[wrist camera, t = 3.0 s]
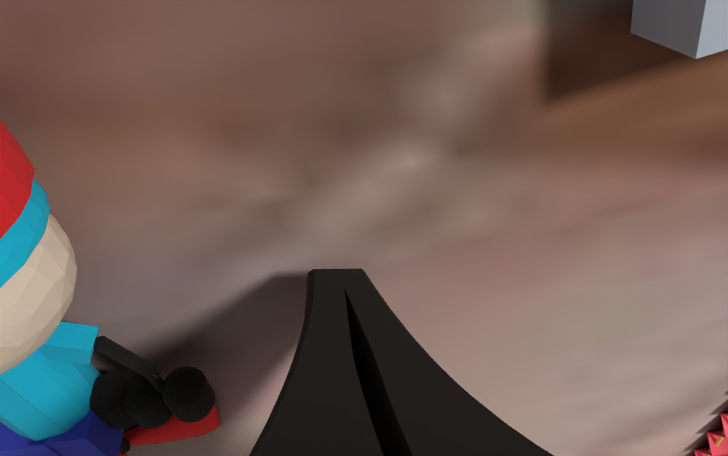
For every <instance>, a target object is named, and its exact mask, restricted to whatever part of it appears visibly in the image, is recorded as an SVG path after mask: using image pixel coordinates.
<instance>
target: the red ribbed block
mask: <svg viewBox="0 0 728 456" xmlns="http://www.w3.org/2000/svg"><path fill="white" fill-rule="evenodd" d="M720 415H721V420H722V424H723V429H724V430H718V431H711V432H707V436H708V441H709V446H710V447H707V448H701V449H695V450H694V452H695V456H728V412H727V413H721V414H720Z"/></svg>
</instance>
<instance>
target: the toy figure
mask: <svg viewBox="0 0 728 456" xmlns="http://www.w3.org/2000/svg"><path fill="white" fill-rule="evenodd" d="M33 175H34V167H33V166H32V164H31V162H30V161H29V159H28V157H27V156H26V154H25V153H24V151H23V150H22V148H21V147H20V145H19V144H18V142H17V141H16V139H15V138H14V137H13V135H12V134H11V133H10V132H9V131H8V130H7V129H6V127H5V126H4V125H3V124H2V123H1V122H0V456H126V454H125V453H126V452H128V451H129V449H130V446H132V445H146V444H157V443H163V442H169V441H175V440H181V439H186V438H192V437H197V436H201V435H204V434H206V433H208V432H210V431H213V430H214V429H216V428H217V427H219V426H220V422H219V415H218V412H217V410H216V407H215V405H214V401H215V395H214V391H213V389H212V388H211V386H210V384H209V383H208V381H207V379H206V378H205V376H204V375H203V373H202V372H201V371H200V370H198V369H196V368H194V367H189V366H187V367H180V368H178V369H175V370H174V371H173V372H171V373H170V374H169V375H168V376H167V378H166V379H165V381H164V380H163V379H162V378H161V377H160V375H161V370H160V369H159V368H158V367H157V366H155V365H153V364H151V363H150V362H148V361H146V360H144V359H143V358H141V357H139V356H138V355H136V354H134V353H132V352H131V351H129V350H127V349H125V348H124V347H122V346H120V345H118V344H117V343H115V342H113V341H112V340H110V339H108V338H106V337H105V336H100V337H98V330H99V327H96V326H89V325H82V324H75V323H67V322H61V320H62V318H63V316H64V314H65V313H66V311H67V309H68V307H69V305H70V303H71V302H72V300H73V295H74V289H75V284H76V275H77V266H76V261H75V255H74V250H73V248H72V246H71V243H70V241H69V239H68V237H67V235H66V234H65V232H64V231H63V229H62V228H61V226H60V225H59V223H58V222H57V220H56V219H55V218H54V217H53V216H52V215H51V214H50V209H49V204H48V198H47V193H46V192H45V191H44V189H43V188H42V187H41V186H40V185H39V183H38V182H37V181H36V180H35V179H34V177H33ZM94 348H95V349H96V350H97V351H99V352H101V353H102V354H104V355H106V356H108V357H110V358H112V359H113V360H115V361H117V362H119V363H121V364H123V365H124V366H126V367H128V368H130V369H132V370H133V371H135V372H137V373H139V374H137V375H135V376H133V377H132V378H130V377H129V376H127V375H125V374H123V373H119V372H107V373H105V374H102V375H101V374H100V373H99V372H98V370H97V369H96V368H95V367H94V366H93V365H92V364H91V363H90V361H91V358H92V355H93V352H94ZM134 423H136V424H137V425H139V426H138V427H136V428H134V429H132V430H129V431H128V432H126V433H125V434H123V433H124V429H125V428H126V427H129V426H130V425H132V424H134Z"/></svg>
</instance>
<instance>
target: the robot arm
mask: <svg viewBox="0 0 728 456" xmlns="http://www.w3.org/2000/svg"><path fill="white" fill-rule="evenodd" d="M249 456H553V455H552V454H550V453H549V452H547V451H545V450H544V449H542V448H541V447H539V446H537V445H536V444H534V443H533V442H532V441H530V440H529V439H527V438H526V437H524V436H523V435H522V434H520V433H519V432H517V431H516V430H514V429H513V428H512V427H510V426H509V425H507V424H506V423H505V422H503V421H502V420H501V419H500V418H498V417H497V416H496V415H495V414H493V413H492V412H491V411H490V410H488V409H487V408H486V407H485V406H483V405H482V404H481V403H480V402H478V401H477V400H476V399H475V398H473V397H472V396H471V395H470V394H469V393H468V392H466V391H465V390H464V389H463V388H462V387H461V386H460V385H459V384H457V383H456V382H455V381H454V380H453V379H452V378H451V377H450V376H449V375H448V374H447V373H446V372H445V371H444V370H443V369H442V368H441V367H440V366H439V365H438V364H437V363H436V362H435V361H434V360H433V359H432V358H431V357H430V356H429V355H428V353H427V352H426V351H425V350H424V349H423V348H422V347H421V346H420V345H419V343H418V342H417V341H416V340H415V339H414V338H413V336H412V335H411V334H410V333H409V332H408V330H407V329H406V328H405V327H404V325H403V324H402V323H401V322H400V320H399V319H398V318H397V317H396V315H395V314H394V313H393V312H392V310H391V309H390V308H389V306H388V305H387V303H386V302H385V301H384V299H383V298H382V297H381V295H380V294H379V292H378V291H377V289H376V288H375V286H374V285H373V284H372V282H371V281H370V279H369V278H368V276H367V274H366V273H365V272H364V271H363V270H362V269H313V270H311V271H310V272H309V273H308V280H307V294H306V307H305V320H304V324H303V329H302V332H301V336H300V339H299V342H298V346H297V349H296V352H295V355H294V358H293V361H292V364H291V367H290V370H289V372H288V375H287V378H286V380H285V383H284V385H283V387H282V390H281V392H280V395H279V397H278V399H277V401H276V403H275V406H274V408H273V410H272V412H271V414H270V417H269V419H268V421H267V423H266V425H265V427H264V429H263V431H262V433H261V435H260V436H259V438H258V440H257V442H256V444H255V446H254V447H253V449H252V451H251V453H250V455H249Z"/></svg>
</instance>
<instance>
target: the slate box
mask: <svg viewBox="0 0 728 456" xmlns="http://www.w3.org/2000/svg"><path fill="white" fill-rule="evenodd" d="M630 33H632V34H635V35H637V36H640V37H642V38H645V39H647V40H650V41H652V42H655V43H657V44H660V45H662V46H665V47H667V48H670V49H672V50H675V51H677V52H680V53H682V54H685V55H687V56H690V57H692V58H695V59H697V58H701V57H704V56H707V55H711V54H714V53H717V52H721V51H724V50H727V49H728V0H633V10H632V21H631V32H630Z"/></svg>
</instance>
